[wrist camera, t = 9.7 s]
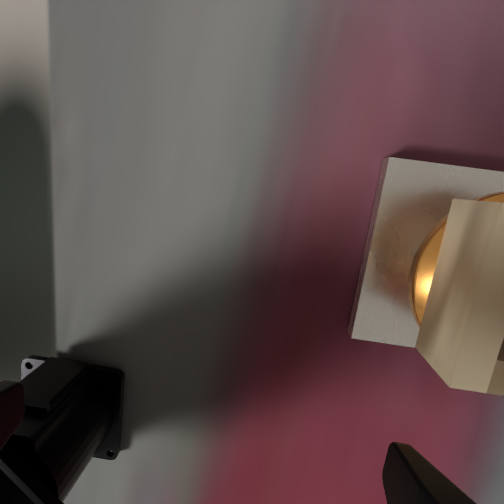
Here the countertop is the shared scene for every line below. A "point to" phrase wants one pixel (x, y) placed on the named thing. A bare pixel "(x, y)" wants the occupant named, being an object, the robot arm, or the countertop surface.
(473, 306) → the collar
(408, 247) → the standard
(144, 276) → the countertop surface
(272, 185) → the countertop surface
